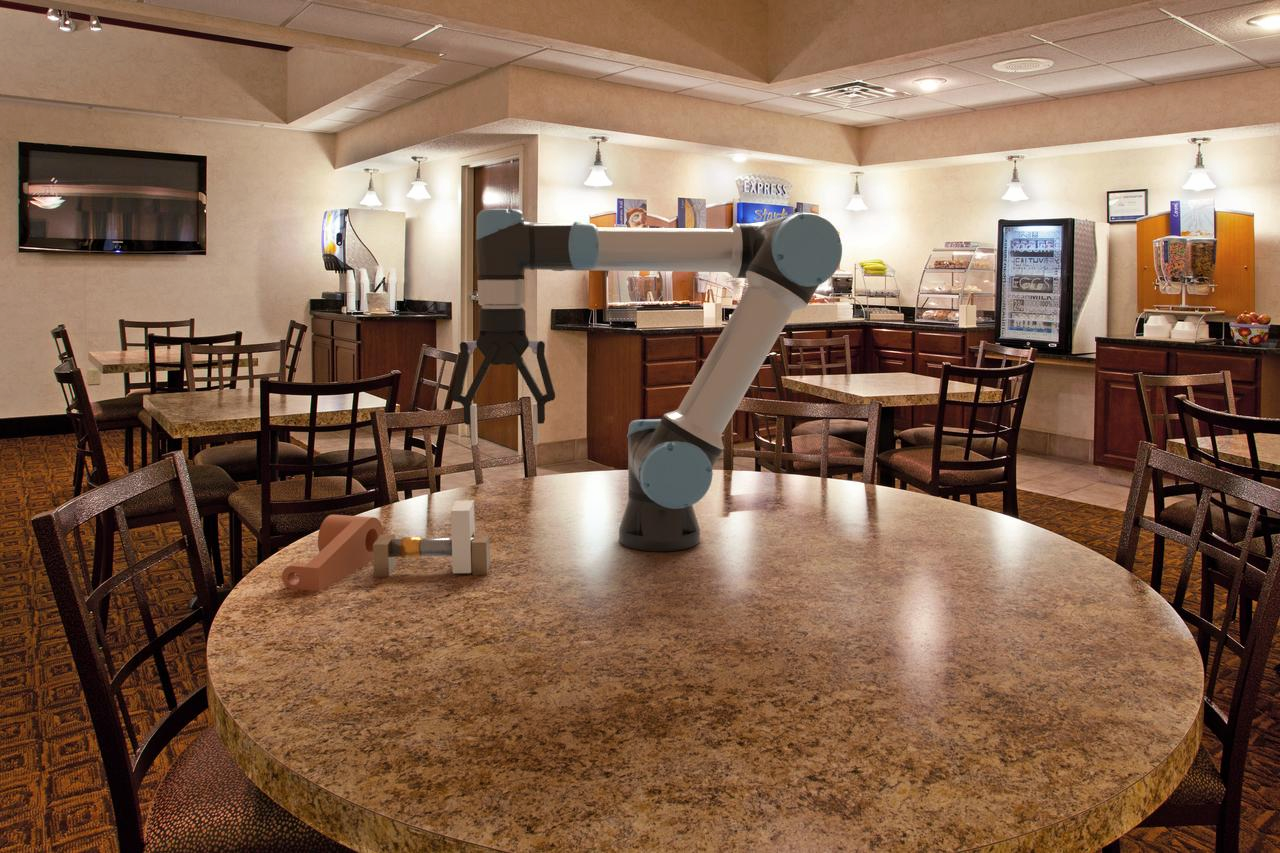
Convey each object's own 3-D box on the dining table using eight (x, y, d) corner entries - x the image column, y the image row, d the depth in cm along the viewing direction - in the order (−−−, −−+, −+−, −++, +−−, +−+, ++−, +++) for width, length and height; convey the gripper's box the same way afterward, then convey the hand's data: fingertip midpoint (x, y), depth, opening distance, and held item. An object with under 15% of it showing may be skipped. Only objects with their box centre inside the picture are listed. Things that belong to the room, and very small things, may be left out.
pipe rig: (490, 563, 160) (489, 531, 159) (487, 574, 154) (486, 541, 154) (381, 565, 159) (380, 533, 158) (374, 577, 153) (372, 543, 152)
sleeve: (475, 560, 161) (473, 500, 159) (471, 572, 154) (469, 510, 152) (458, 560, 160) (456, 500, 159) (452, 573, 154) (450, 510, 152)
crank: (344, 552, 168) (342, 509, 166) (384, 555, 166) (382, 512, 164) (275, 588, 149) (272, 540, 147) (319, 592, 147) (316, 543, 145)
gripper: (570, 306, 155) (572, 438, 159) (436, 306, 154) (441, 440, 157) (570, 307, 148) (572, 446, 151) (429, 308, 146) (434, 448, 150)
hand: (505, 443), depth 154 cm, fingers open, 9 cm apart
